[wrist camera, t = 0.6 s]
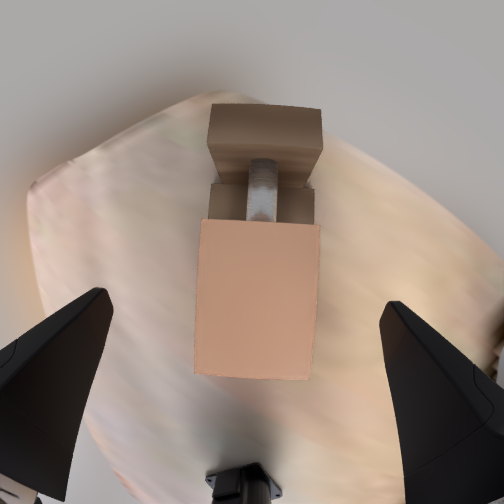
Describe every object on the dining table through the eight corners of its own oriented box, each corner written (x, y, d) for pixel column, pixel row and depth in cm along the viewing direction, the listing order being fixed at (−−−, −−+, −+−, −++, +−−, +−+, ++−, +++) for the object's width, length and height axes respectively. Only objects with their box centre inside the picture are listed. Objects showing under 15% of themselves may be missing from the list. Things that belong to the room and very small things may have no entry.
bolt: (273, 251, 19) (275, 249, 17) (244, 250, 19) (243, 247, 17) (277, 166, 20) (279, 155, 18) (250, 164, 20) (249, 153, 18)
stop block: (304, 353, 23) (327, 393, 14) (203, 348, 24) (174, 384, 15) (312, 162, 25) (335, 111, 16) (216, 157, 25) (197, 104, 16)
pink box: (290, 340, 22) (309, 379, 13) (218, 337, 22) (194, 373, 13) (296, 244, 23) (320, 225, 14) (223, 240, 23) (201, 218, 14)
